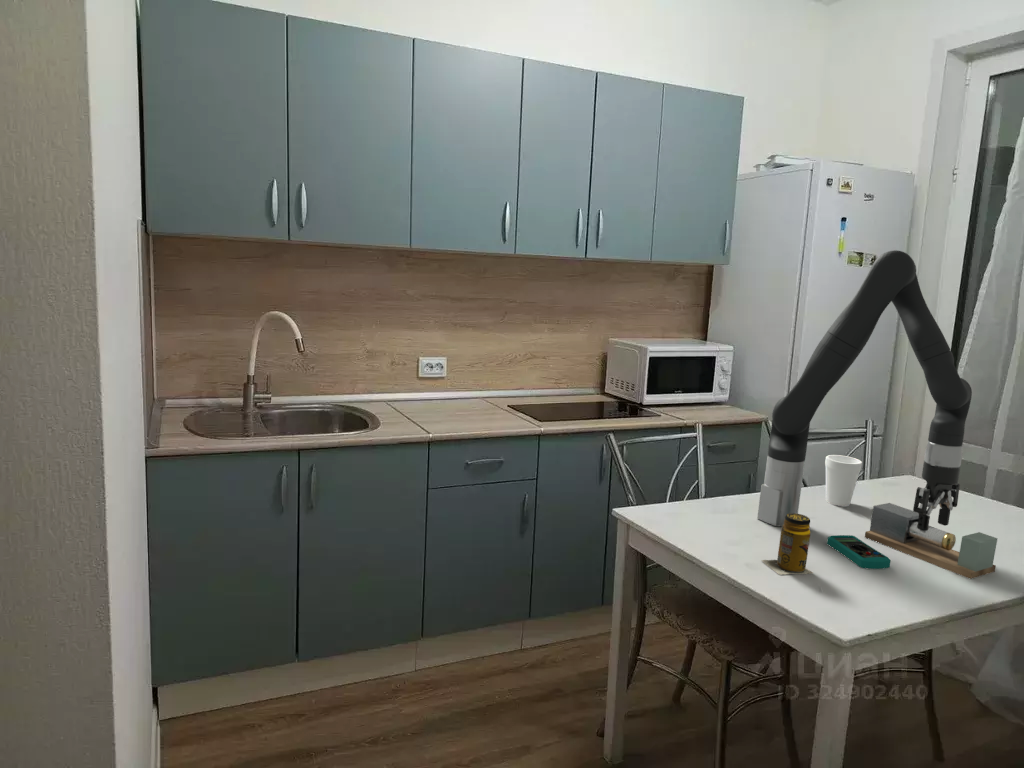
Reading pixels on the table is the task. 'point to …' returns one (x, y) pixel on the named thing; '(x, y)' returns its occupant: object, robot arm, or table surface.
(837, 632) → the table surface
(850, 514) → the table surface
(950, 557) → the board
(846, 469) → the foam cup
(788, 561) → the condiment
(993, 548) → the socket
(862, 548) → the digital multimeter
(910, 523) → the tube
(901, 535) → the sleeve
